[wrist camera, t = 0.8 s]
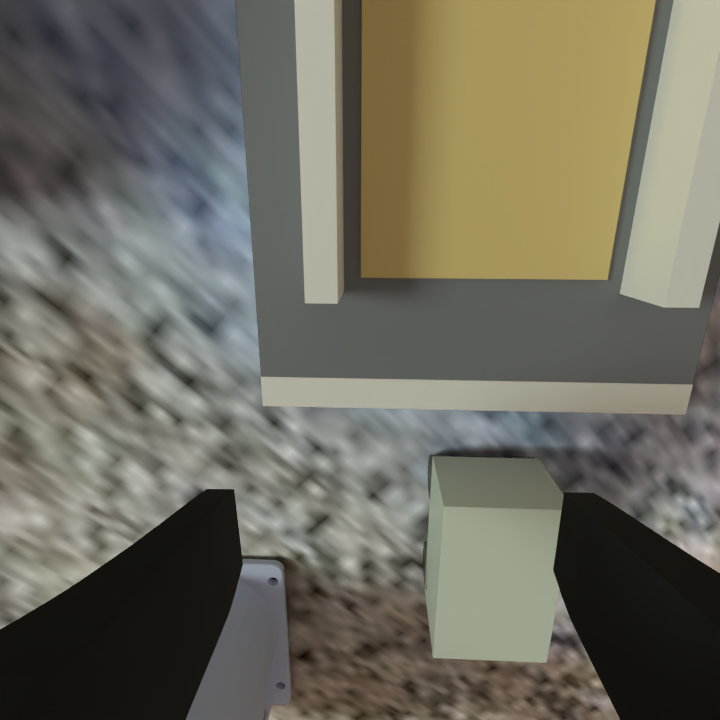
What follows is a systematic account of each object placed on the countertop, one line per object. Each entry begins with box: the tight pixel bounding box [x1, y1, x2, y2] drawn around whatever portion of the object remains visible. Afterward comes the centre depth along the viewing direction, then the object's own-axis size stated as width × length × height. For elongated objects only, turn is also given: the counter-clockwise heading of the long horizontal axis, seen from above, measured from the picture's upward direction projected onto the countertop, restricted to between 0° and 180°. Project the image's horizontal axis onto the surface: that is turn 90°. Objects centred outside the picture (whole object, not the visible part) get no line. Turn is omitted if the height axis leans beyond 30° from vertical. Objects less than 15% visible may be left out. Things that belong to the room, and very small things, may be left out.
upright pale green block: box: [423, 455, 564, 663], centre depth 18 cm, size 7×4×5 cm, turn 0°
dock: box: [235, 0, 720, 415], centre depth 14 cm, size 18×16×4 cm
